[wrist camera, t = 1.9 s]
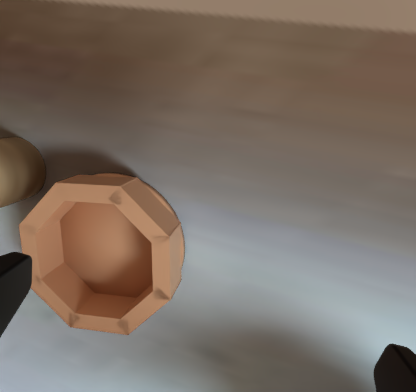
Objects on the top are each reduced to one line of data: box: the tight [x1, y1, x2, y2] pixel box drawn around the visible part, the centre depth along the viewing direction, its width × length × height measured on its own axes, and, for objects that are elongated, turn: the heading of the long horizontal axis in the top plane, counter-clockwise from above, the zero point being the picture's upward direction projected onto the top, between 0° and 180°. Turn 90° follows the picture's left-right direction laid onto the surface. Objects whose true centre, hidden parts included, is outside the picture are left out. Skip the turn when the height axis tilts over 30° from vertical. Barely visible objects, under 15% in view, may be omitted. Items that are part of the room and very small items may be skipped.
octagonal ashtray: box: [19, 173, 185, 335], centre depth 21 cm, size 9×9×3 cm
